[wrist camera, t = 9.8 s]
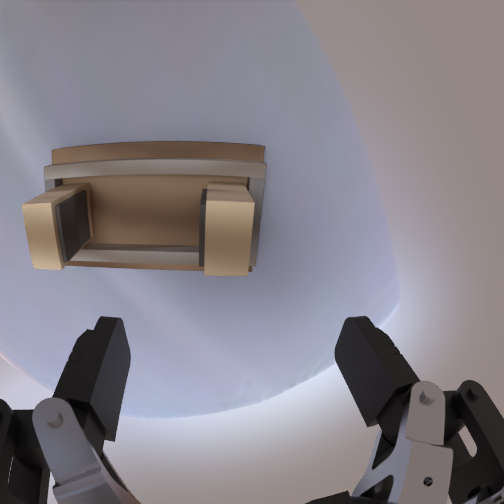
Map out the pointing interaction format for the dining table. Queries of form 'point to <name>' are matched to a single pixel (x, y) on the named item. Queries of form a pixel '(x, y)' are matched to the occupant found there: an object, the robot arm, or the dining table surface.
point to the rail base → (135, 203)
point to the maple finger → (225, 229)
